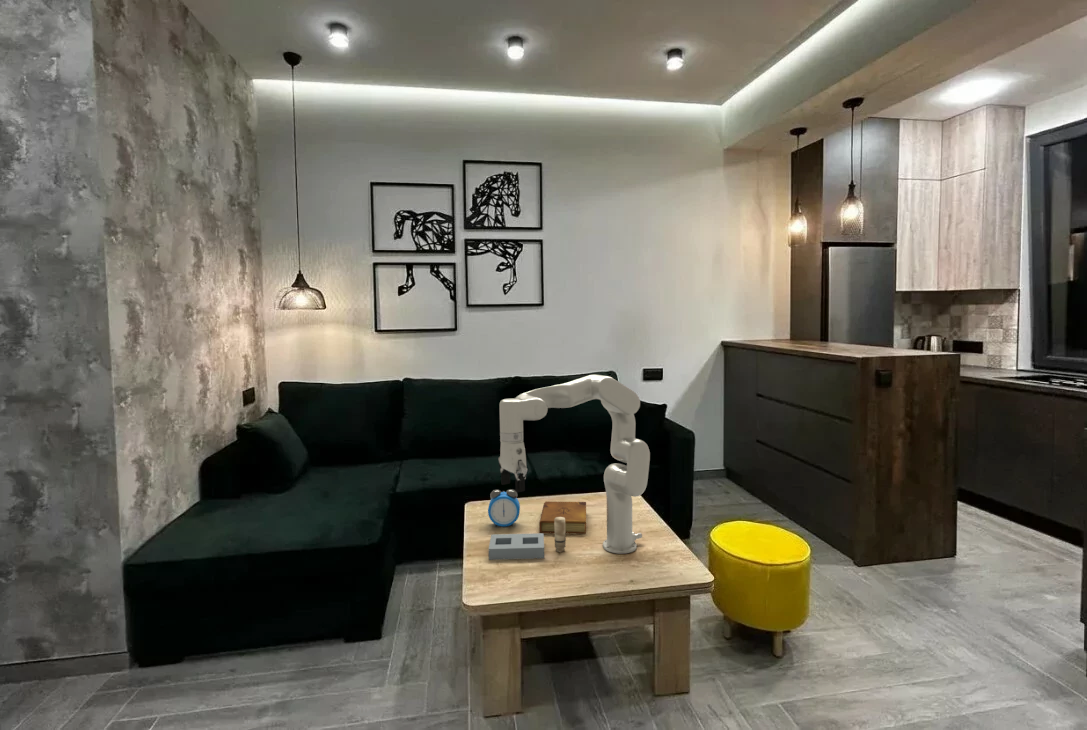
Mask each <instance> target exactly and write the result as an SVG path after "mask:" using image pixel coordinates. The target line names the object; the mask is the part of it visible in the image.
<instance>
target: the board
mask: <svg viewBox="0 0 1087 730" xmlns="http://www.w3.org/2000/svg"><path fill="white" fill-rule="evenodd" d="M544 539H545V533H540V532H539V533H538V532H537V533H507V534H506V533H501V534H495V533H494V534H490V540H489V544H488V560H489V561H490V560H491V561H493V560H494V561H495V560H497V561H498V560H521V559H522V560H529V559H530V560H532V559H533V560H535V559H534V558H537V559H545V540H544Z"/></svg>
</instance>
